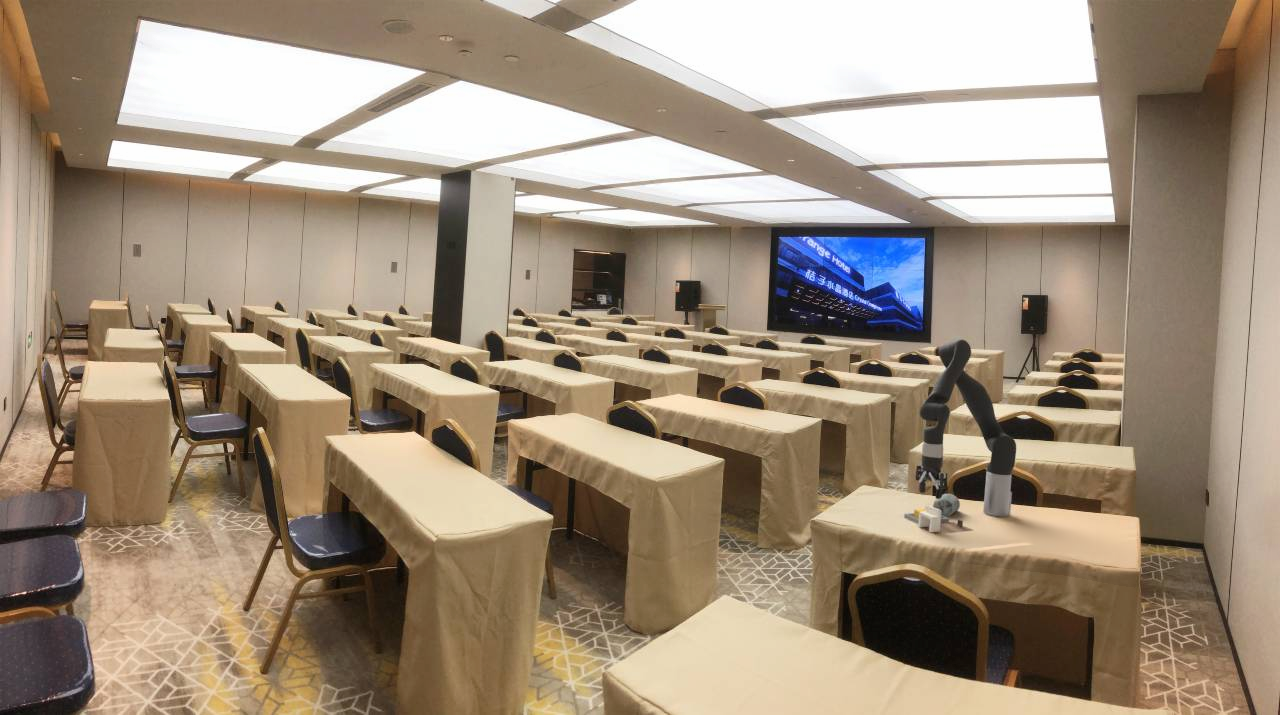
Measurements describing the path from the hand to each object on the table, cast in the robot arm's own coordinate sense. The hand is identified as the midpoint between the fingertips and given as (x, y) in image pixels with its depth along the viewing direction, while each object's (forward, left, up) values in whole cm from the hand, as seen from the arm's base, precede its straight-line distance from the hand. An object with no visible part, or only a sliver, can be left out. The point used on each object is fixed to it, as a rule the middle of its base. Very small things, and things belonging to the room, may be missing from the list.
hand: (930, 495), depth 281 cm
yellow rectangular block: (0, -1, -10) cm, 10 cm away
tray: (0, -1, -11) cm, 11 cm away
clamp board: (0, +9, -11) cm, 14 cm away
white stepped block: (+8, +9, -10) cm, 15 cm away
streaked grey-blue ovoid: (-15, -7, -11) cm, 20 cm away
